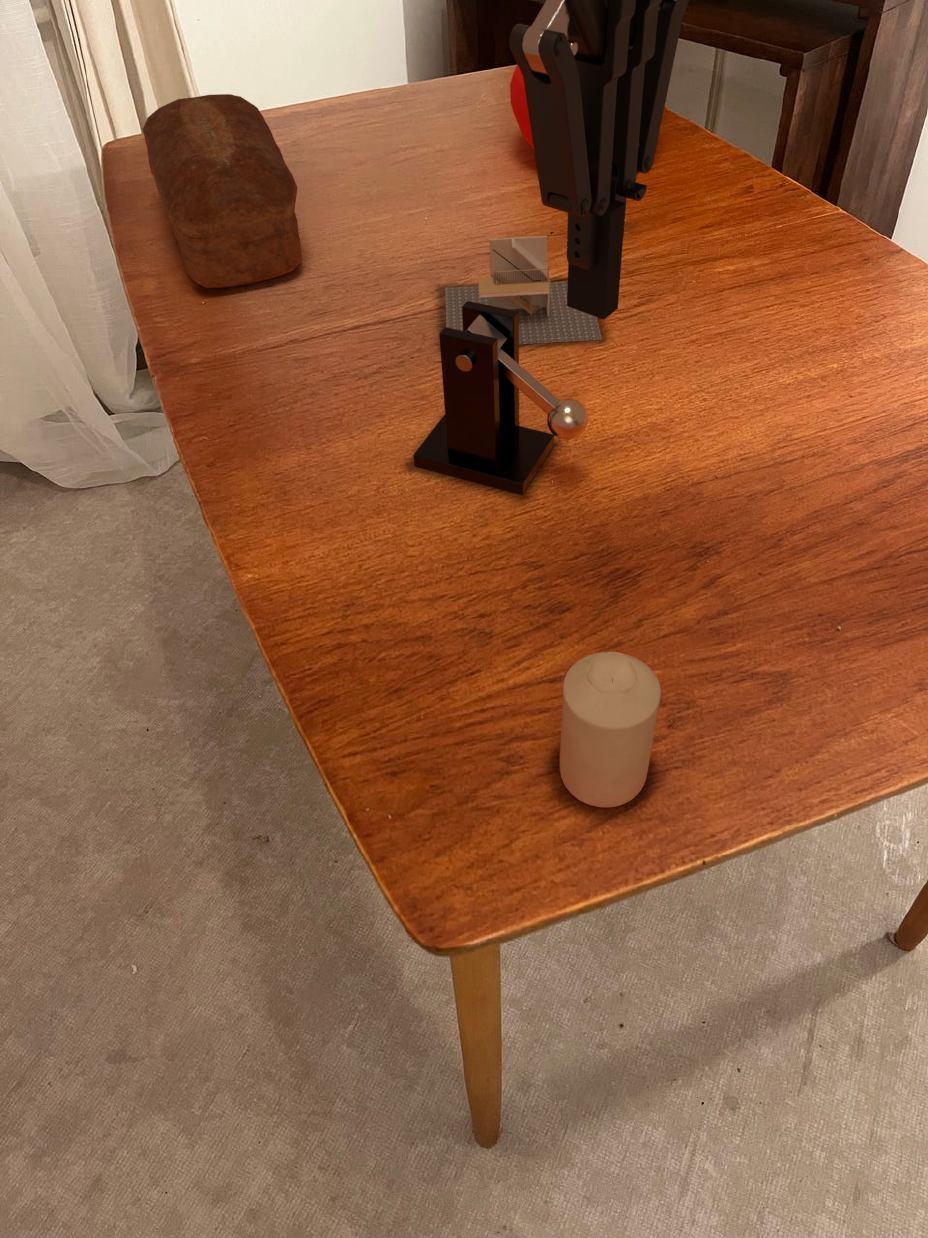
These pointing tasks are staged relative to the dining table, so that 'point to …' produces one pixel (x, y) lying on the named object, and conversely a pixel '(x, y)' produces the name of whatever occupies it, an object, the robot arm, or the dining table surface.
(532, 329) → the architectural model
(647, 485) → the dining table surface
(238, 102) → the bread
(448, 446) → the bracket
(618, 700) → the candle
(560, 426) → the lever
